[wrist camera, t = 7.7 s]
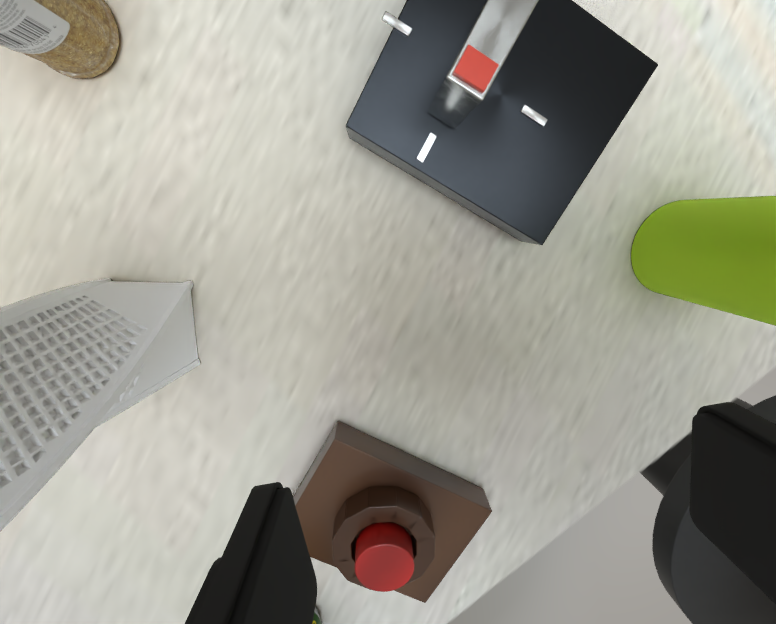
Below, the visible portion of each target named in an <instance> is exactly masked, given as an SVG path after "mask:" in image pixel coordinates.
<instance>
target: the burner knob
mask: <svg viewBox="0 0 776 624" xmlns="http://www.w3.org/2000/svg"><path fill="white" fill-rule="evenodd" d="M538 1H539V0H486V2H485V4H484V6H483V8H482V9H481V11H480V13H479V15H478V17H477V19H476V21H475V23H474V25H473V26H472V28H471V30H470V32H469V34H468V36H467V38H466V40H465V42H464V43H463V45H462V47H461V49H460V51H459V53H458V55H457V57H456V59H455V61H454V62H453V64H452V66H451V68H450V70H449V72H448V74H447V76H446V78H445V79H444V81H443V83H442V85H441V87H440V89H439V91H438V93H437V95H436V96H435V98H434V100H433V102H432V104H431V106H430V108H429V110H428V113H429V114H431V115H432V116H434V117H436V118H437V119H439V120H440V121H442V122H443V123H445V124H447V125H448V126H450V127H451V128H453V129H455V128H456V127H457V126H458V125H459V124H460V123H461V122H462V121H463V120H464V119H465V118H466V117H467V116H468V115H469V114H470V113H471V112H472V111H473V110H474V109H475V108H476V107H477V106H478V105H479V104H480V103H481V102H482V101H483V100H484V98H485V96H486V94H487V92H488V91H489V89H490V87H491V85H492V83H493V82H494V80H495V78H496V76H497V74H498V73H499V71H500V69H501V67H502V66H503V64H504V62H505V60H506V58H507V57H508V55H509V53H510V51H511V49H512V48H513V46H514V44H515V42H516V40H517V39H518V37H519V35H520V33H521V31H522V30H523V28H524V26H525V24H526V22H527V21H528V19H529V17H530V15H531V13H532V12H533V10H534V8H535V6H536V4H537V3H538Z"/></svg>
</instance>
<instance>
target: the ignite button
mask: <svg viewBox="0 0 776 624" xmlns="http://www.w3.org/2000/svg"><path fill="white" fill-rule="evenodd" d="M413 572H414V557H413V548H412V541H411V537H410V535H409V533H408V532H407V531H406V530H405V529H404V528H403V527H402V526H400V525H398V524H395V523H392V522H382V523H374V524H371V525H369V526H368V527H366V528H365V529H364V530H363V531H362V532H361V533H360V534H359V536H358V538H357V541H356V550H355V574H356V576H357V578H358V580H359V581H360V582H361V583H362V584H363V585H364V586H365V587H367V588H369V589H371V590H375V591H381V592H385V591H392V590H395V589H398V588H400V587H402V586H403V585H405V584H406V583H407V582H408V581H409V580H410V578H411V577H412V575H413Z"/></svg>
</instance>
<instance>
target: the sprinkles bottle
mask: <svg viewBox="0 0 776 624" xmlns="http://www.w3.org/2000/svg"><path fill="white" fill-rule="evenodd" d="M0 45H2V46H4V47H7V48H9V49H11V50H14V51H17V52H21V53H24V54H25V55H28V56H30V57H32V58H35V59H38V60H40V61H42V62H44V63H46V64H47V65H48V66H50V67H51V68H53V69H54V70H56V71H57V72H59V73H61V74H64V75H66V76H69V77H72V78H82V79H84V78H89V77H90V78H92V77H95V76H98V75H99V74H101V73H103V72H105V71H106V70H107V69H108V68H109V67H110V66H111V64H112V63H113V61H114V59H115V56H116V54H117V51H118V47H119V36H118V29H117V24H116V22H115V20H114V18H113V15H112V13H111V11H110V9H109V7H108V6H107V4H106V3H105V1H104V0H0Z"/></svg>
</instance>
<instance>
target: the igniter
mask: <svg viewBox="0 0 776 624" xmlns="http://www.w3.org/2000/svg"><path fill="white" fill-rule="evenodd" d="M293 499H294V503H295V506H296V510H297V513H298V517H299V520H300V524H301V527H302V531H303V534H304V538H305V541H306V545H307V548H308V552H309V555H310V557H312V558H315V559H317V560H320V561H322V562H325V563H327V564H330V565H332V566H335V567H337V568H338V569H339V570H340V572H341V573H342V574H343V575H344V577H345V578H346V579H347V580H348V581H350V582H352V583H355V584H358V585H360V586H363V587H365V586H364V585H363V584H362V583H361V582H360V581H359V580H358V578H357V576H356V574H355V550H356V541H357V538H358V536H359V534H360V533H361V532H362V531H363V530H364V529H365V528H366V527H368V526H369V525H371V524H374V523H382V522H392V523H395V524H398V525H400V526H402V527H403V528H404V529H405V530H406V531H407V532H408V533H409V535H410V537H411V541H412V548H413V557H414V572H413V575H412V577H411V578H410V580H409V581H408V582H407V583H406V584H405V585H403V586H402V587H400V588H398V589H395V590H394V591H397V592H399V593H402V594H404V595H407V596H409V597H412V598H414V599H417V600H419V601H422V602H424V603H425V602H426V601H427V600H428V598H429V597H430V596H431V594H432V593H433V592H434V590H435V589H436V588H437V586H438V585H439V583H440V582H441V581H442V579H443V578H444V577H445V575H446V574H447V572H448V571H449V570H450V568H451V567H452V566H453V564H454V563H455V561H456V560H457V559H458V557H459V556H460V555H461V553H462V552H463V550H464V549H465V548H466V546H467V545H468V544H469V542H470V541H471V539H472V538H473V537H474V535H475V534H476V533H477V531H478V530H479V528H480V527H481V526H482V524H483V523H484V522H485V520H486V519H487V518H488V516H489V515H490V513H491V512H492V510H491V507H490V505H489V502H488V500H487V497H486V495H485V492H484V490H483V489H482V488H480V487H478V486H476V485H474V484H472V483H470V482H467V481H465V480H463V479H461V478H459V477H457V476H455V475H452V474H450V473H448V472H446V471H444V470H442V469H440V468H438V467H435V466H433V465H431V464H429V463H427V462H425V461H423V460H420V459H418V458H416V457H414V456H412V455H410V454H408V453H406V452H403V451H401V450H399V449H397V448H395V447H393V446H391V445H388V444H386V443H384V442H382V441H380V440H378V439H376V438H374V437H371V436H369V435H367V434H365V433H363V432H361V431H359V430H356V429H354V428H352V427H350V426H348V425H346V424H344V423H342V422H339V421H337V423H336V424H335V426H334V428H333V430H332V431H331V433H330V435H329V436H328V438H327V440H326V442H325V443H324V445H323V447H322V448H321V450H320V452H319V454H318V455H317V457H316V459H315V460H314V462H313V464H312V466H311V467H310V469H309V471H308V473H307V474H306V476H305V478H304V479H303V481H302V483H301V485H300V486H299V488H298V490H297V491H296V493H295V495H294V497H293ZM365 588H367V587H365ZM368 589H369V588H368ZM370 590H371V589H370Z"/></svg>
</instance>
